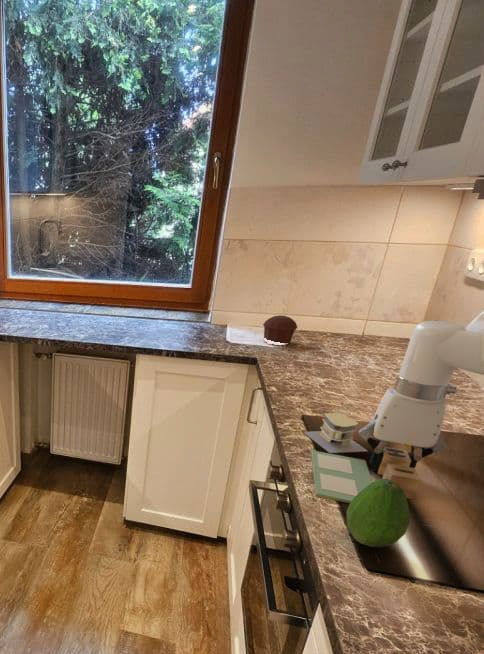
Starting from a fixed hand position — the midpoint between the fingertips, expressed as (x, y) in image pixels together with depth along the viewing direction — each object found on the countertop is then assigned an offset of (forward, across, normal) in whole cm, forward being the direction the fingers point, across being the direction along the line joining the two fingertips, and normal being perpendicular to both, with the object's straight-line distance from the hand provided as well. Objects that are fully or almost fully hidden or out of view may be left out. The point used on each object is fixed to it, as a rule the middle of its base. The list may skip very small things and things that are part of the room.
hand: (389, 470), depth 96 cm
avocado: (+1, +7, +27) cm, 28 cm away
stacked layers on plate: (+1, +9, -10) cm, 13 cm away
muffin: (+1, +22, -90) cm, 93 cm away
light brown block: (0, 0, 0) cm, 0 cm away
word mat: (0, +9, +7) cm, 11 cm away
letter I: (0, 0, +8) cm, 8 cm away
